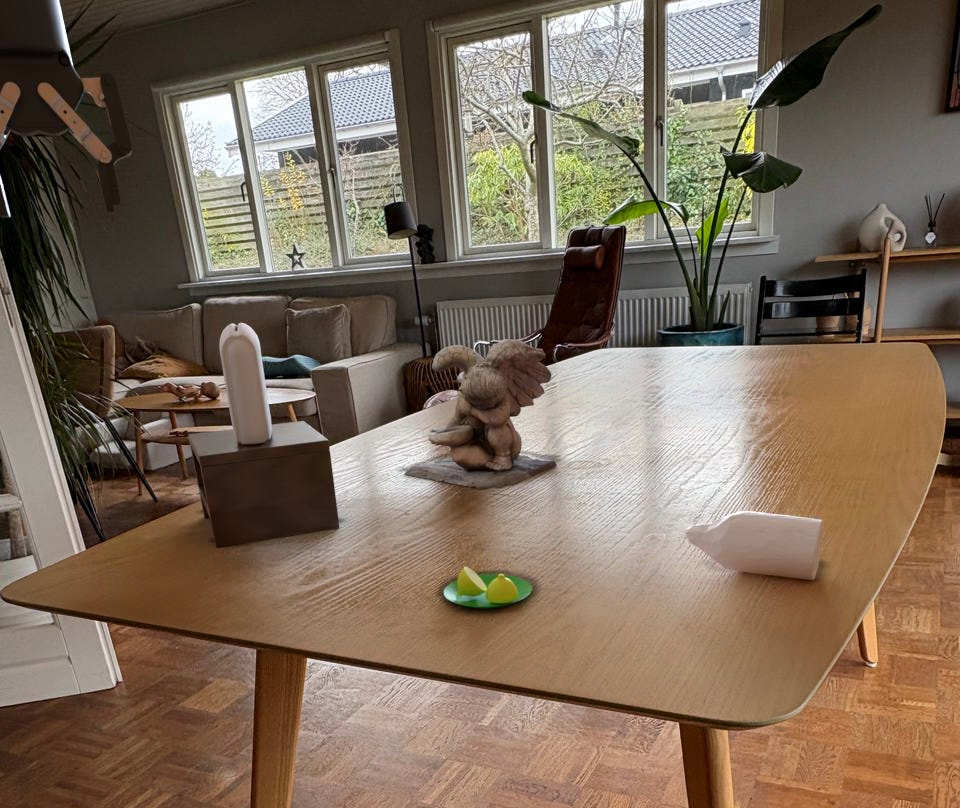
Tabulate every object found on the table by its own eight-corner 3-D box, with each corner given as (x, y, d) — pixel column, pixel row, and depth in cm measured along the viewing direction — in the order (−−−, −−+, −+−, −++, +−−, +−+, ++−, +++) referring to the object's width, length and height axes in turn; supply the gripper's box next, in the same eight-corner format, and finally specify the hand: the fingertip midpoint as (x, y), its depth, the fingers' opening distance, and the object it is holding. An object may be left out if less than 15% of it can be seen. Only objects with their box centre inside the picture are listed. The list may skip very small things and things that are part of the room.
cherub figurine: (394, 476, 118) (381, 343, 111) (471, 451, 131) (465, 330, 124) (494, 491, 108) (488, 346, 101) (568, 462, 121) (567, 332, 114)
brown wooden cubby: (216, 547, 93) (198, 456, 88) (203, 516, 104) (187, 434, 100) (339, 527, 97) (328, 439, 93) (314, 500, 109) (303, 420, 105)
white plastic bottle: (691, 553, 83) (695, 498, 81) (819, 567, 78) (827, 509, 76) (675, 573, 79) (678, 515, 76) (810, 589, 74) (818, 528, 71)
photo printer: (237, 430, 101) (218, 321, 95) (273, 427, 101) (257, 319, 96) (233, 447, 92) (213, 327, 86) (273, 444, 92) (255, 325, 87)
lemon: (442, 615, 72) (440, 585, 71) (445, 582, 79) (443, 554, 78) (534, 611, 72) (534, 580, 71) (529, 578, 79) (528, 550, 78)
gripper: (101, 4, 72) (142, 214, 79) (-87, -4, 68) (-26, 220, 74) (101, -21, 66) (145, 210, 73) (-107, -32, 61) (-39, 215, 68)
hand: (58, 215), depth 74 cm, fingers open, 8 cm apart
